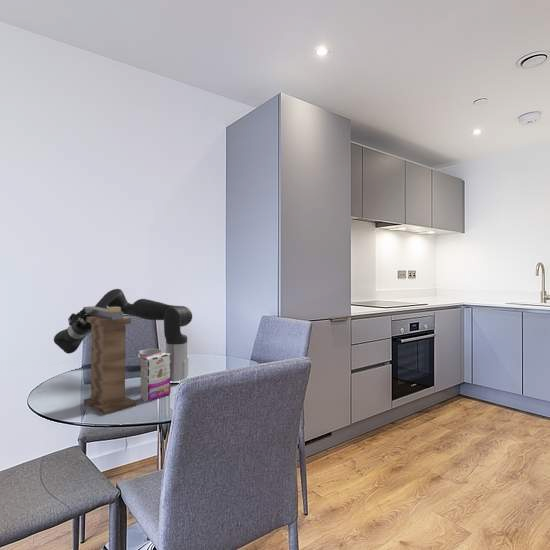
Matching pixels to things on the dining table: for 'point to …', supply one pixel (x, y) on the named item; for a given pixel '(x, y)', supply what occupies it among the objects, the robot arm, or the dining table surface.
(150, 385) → the candy bar box
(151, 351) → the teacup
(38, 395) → the dining table surface
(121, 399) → the stand
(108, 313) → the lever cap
